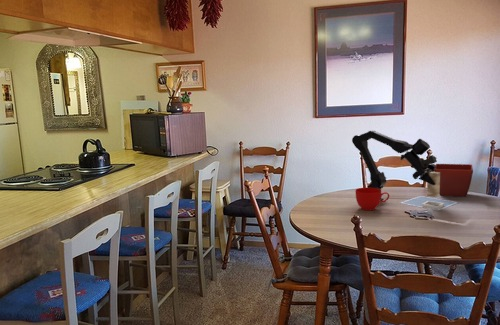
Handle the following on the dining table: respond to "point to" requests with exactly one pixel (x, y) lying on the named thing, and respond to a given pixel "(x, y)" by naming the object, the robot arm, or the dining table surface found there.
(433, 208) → the collar
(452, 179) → the plant pot
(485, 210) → the dining table surface
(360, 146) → the robot arm
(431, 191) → the maple pillar
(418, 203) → the board
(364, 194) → the ceramic cup
